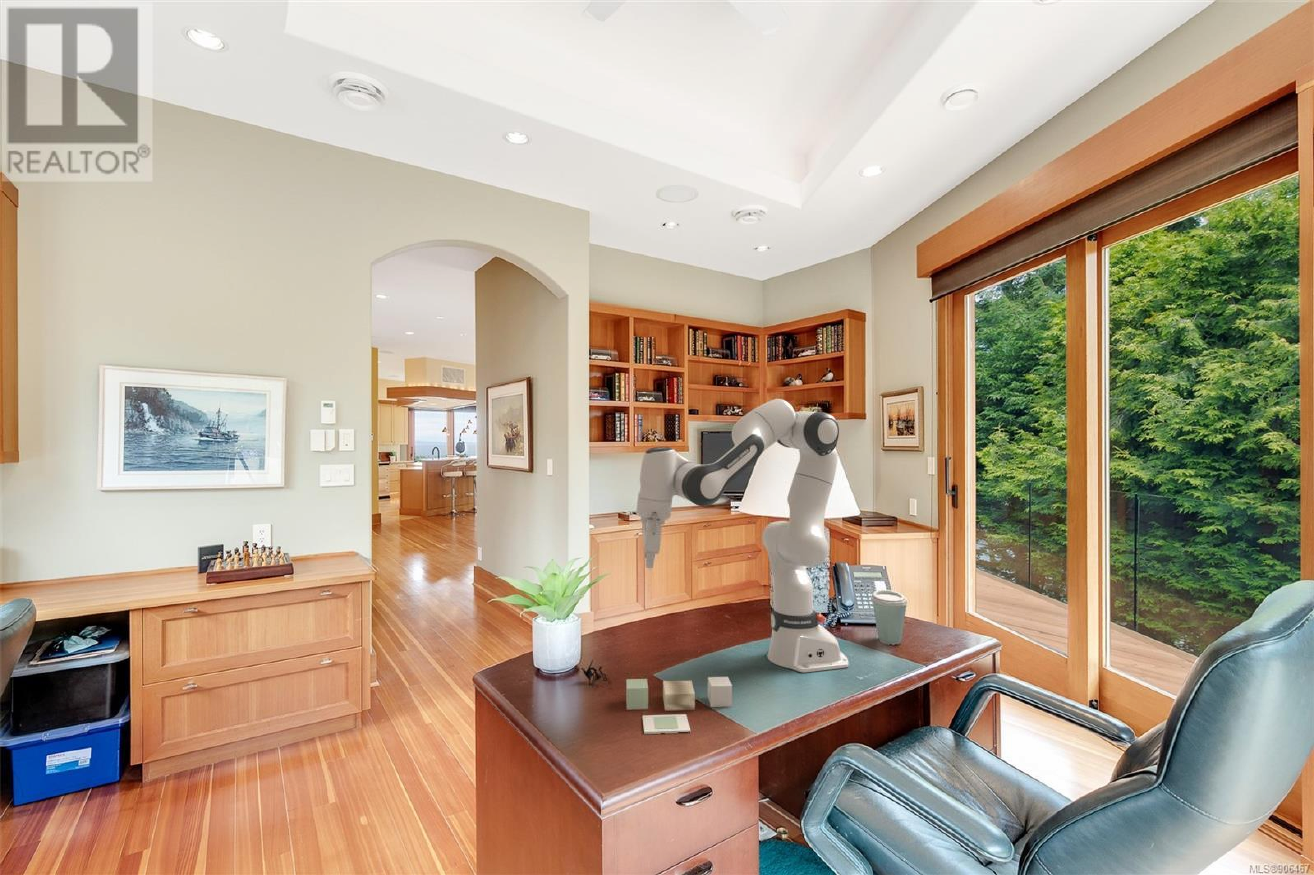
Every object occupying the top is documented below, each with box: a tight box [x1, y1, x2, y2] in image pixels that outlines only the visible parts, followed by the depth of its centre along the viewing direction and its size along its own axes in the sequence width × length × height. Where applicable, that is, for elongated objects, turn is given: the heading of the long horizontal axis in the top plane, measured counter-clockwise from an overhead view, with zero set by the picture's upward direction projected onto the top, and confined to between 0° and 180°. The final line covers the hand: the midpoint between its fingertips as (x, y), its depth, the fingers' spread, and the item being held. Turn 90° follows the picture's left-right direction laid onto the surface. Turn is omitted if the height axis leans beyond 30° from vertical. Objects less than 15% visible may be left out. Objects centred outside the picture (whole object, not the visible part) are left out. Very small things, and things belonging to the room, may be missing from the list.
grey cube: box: [707, 676, 733, 708], centre depth 134 cm, size 5×5×5 cm
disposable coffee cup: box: [870, 589, 908, 646], centre depth 174 cm, size 11×11×15 cm
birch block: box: [662, 680, 696, 711], centre depth 133 cm, size 7×7×4 cm
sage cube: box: [625, 678, 649, 711], centre depth 132 cm, size 5×5×5 cm
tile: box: [642, 713, 691, 735], centre depth 122 cm, size 10×7×1 cm
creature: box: [580, 659, 612, 691], centre depth 143 cm, size 8×5×8 cm
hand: (648, 562), depth 142 cm, fingers open, 8 cm apart
